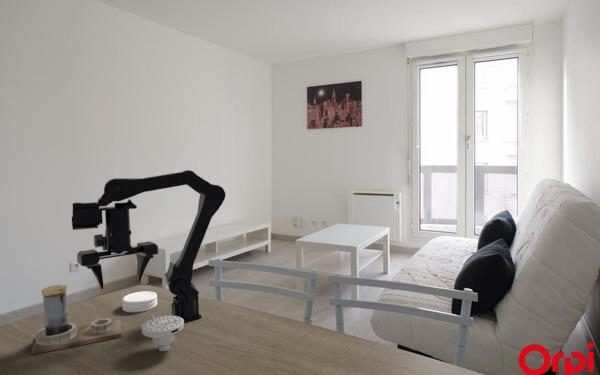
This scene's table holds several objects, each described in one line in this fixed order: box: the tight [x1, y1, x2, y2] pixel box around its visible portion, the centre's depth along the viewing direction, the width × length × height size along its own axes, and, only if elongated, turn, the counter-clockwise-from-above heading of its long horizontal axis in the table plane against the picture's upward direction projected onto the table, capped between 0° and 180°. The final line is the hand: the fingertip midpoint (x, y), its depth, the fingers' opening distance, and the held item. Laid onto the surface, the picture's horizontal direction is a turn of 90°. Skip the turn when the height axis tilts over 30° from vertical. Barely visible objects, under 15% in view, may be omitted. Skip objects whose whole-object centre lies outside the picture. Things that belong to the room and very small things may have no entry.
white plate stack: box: [121, 290, 158, 314], centre depth 121 cm, size 10×10×4 cm
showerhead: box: [141, 314, 185, 352], centre depth 93 cm, size 9×7×10 cm
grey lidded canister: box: [41, 284, 69, 336], centre depth 98 cm, size 5×5×12 cm
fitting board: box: [31, 317, 122, 355], centre depth 100 cm, size 19×10×3 cm, turn 116°
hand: (120, 285), depth 104 cm, fingers open, 9 cm apart
